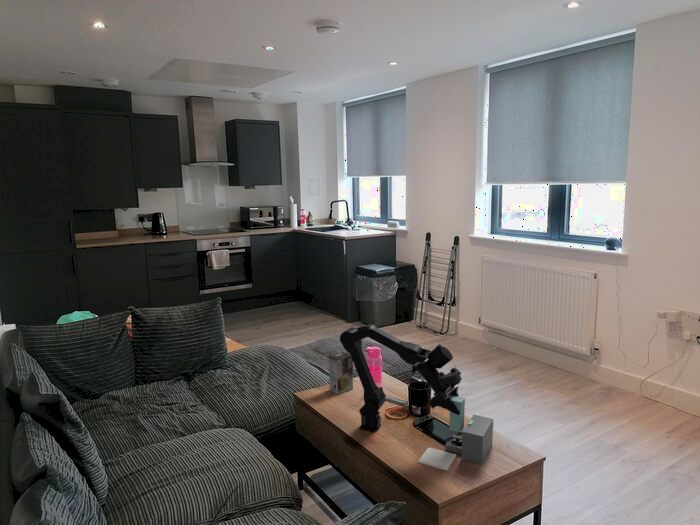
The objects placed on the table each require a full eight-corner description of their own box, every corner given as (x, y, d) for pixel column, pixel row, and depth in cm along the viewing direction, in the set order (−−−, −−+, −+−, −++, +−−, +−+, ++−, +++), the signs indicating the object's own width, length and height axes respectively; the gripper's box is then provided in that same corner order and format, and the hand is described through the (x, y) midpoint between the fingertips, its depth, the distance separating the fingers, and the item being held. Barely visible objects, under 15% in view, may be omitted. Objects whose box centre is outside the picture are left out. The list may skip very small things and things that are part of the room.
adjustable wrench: (418, 407, 207) (418, 403, 207) (410, 413, 202) (410, 409, 202) (370, 391, 223) (370, 387, 222) (361, 396, 218) (361, 392, 218)
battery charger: (426, 405, 208) (426, 379, 206) (419, 407, 206) (420, 381, 204) (414, 399, 214) (415, 374, 212) (408, 401, 211) (408, 376, 210)
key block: (449, 429, 173) (450, 400, 172) (452, 424, 177) (453, 395, 175) (460, 432, 171) (461, 402, 170) (463, 427, 175) (464, 398, 173)
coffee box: (344, 384, 230) (344, 351, 227) (353, 389, 225) (353, 355, 222) (328, 390, 224) (328, 355, 221) (337, 394, 219) (337, 359, 216)
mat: (418, 462, 165) (418, 461, 165) (428, 448, 174) (428, 447, 174) (446, 470, 160) (447, 469, 160) (456, 456, 169) (456, 454, 169)
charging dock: (442, 454, 170) (443, 425, 169) (455, 436, 182) (456, 409, 181) (482, 464, 164) (483, 435, 162) (492, 445, 176) (493, 417, 174)
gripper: (438, 372, 164) (470, 410, 161) (455, 355, 180) (485, 390, 177) (415, 389, 169) (446, 427, 166) (434, 371, 185) (462, 406, 182)
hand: (461, 411), depth 172 cm, fingers closed on key block, 4 cm apart
